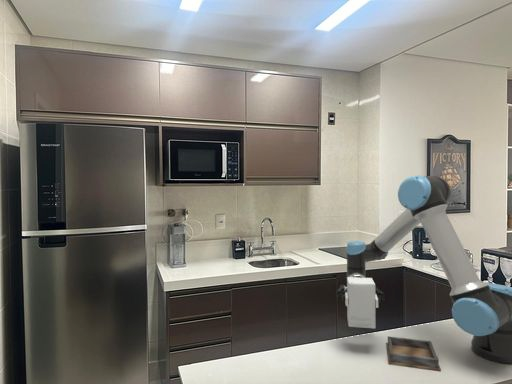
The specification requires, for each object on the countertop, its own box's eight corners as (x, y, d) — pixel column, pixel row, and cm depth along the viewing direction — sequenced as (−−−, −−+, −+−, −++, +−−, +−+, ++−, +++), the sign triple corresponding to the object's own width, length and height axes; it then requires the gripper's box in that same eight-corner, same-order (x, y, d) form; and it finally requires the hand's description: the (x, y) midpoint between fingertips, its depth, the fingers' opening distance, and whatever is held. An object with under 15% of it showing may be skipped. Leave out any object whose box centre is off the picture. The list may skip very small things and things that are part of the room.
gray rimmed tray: (432, 349, 123) (432, 340, 122) (440, 371, 108) (440, 361, 108) (386, 344, 127) (386, 335, 127) (388, 364, 113) (388, 354, 113)
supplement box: (376, 329, 118) (376, 284, 118) (348, 327, 120) (348, 283, 120) (372, 319, 127) (372, 277, 127) (347, 317, 129) (346, 276, 128)
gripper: (386, 295, 138) (396, 316, 116) (329, 292, 143) (328, 311, 121) (386, 276, 138) (396, 293, 116) (329, 274, 143) (328, 289, 121)
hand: (361, 302), depth 119 cm, fingers closed on supplement box, 9 cm apart
